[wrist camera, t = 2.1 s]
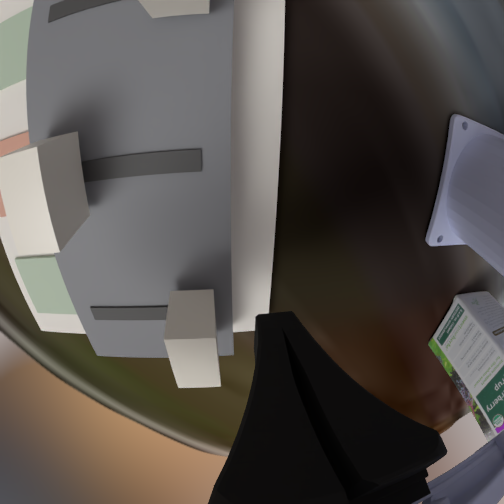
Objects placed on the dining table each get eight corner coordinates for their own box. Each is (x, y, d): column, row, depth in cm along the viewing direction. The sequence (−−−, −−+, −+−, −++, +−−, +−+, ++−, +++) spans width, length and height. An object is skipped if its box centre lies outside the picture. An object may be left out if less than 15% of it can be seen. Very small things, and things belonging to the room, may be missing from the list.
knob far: (213, 289, 10) (215, 337, 8) (217, 340, 12) (220, 386, 10) (170, 291, 10) (163, 339, 8) (180, 341, 12) (178, 387, 9)
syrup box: (455, 293, 18) (551, 426, 6) (488, 288, 19) (571, 395, 7) (426, 343, 21) (497, 468, 9) (461, 333, 22) (528, 437, 10)
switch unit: (279, -49, 6) (299, -81, 4) (264, 317, 16) (274, 358, 13) (-4, 11, 5) (-39, 6, 2) (47, 320, 14) (30, 355, 12)
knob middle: (77, 131, 7) (37, 146, 5) (90, 214, 8) (59, 252, 6) (38, 140, 7) (-6, 159, 4) (52, 219, 8) (18, 254, 6)
